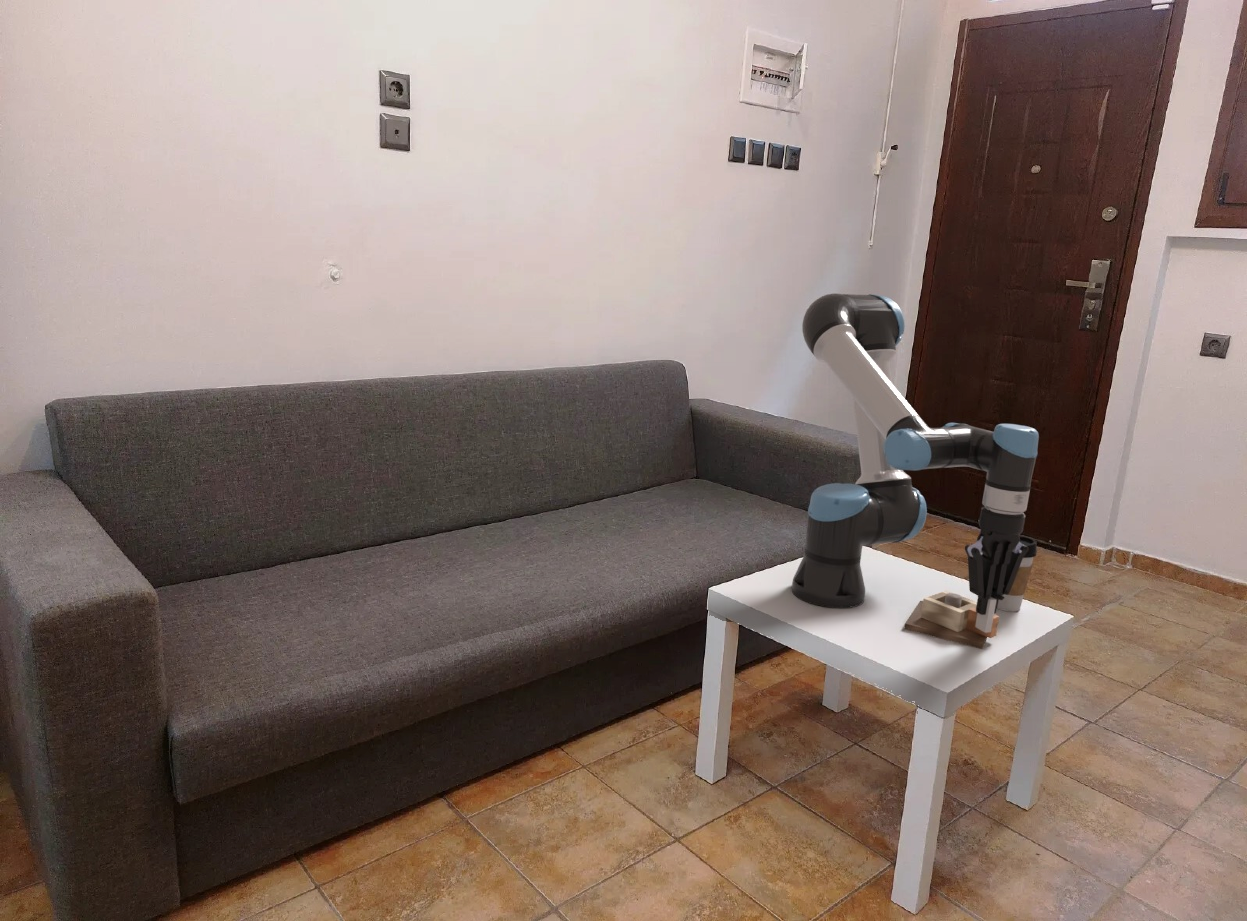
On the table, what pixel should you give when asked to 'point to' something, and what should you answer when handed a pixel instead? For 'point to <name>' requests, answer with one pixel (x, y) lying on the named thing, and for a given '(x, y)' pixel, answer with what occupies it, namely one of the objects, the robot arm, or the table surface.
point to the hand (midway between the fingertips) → (982, 629)
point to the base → (936, 630)
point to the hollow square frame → (954, 614)
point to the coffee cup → (1020, 578)
